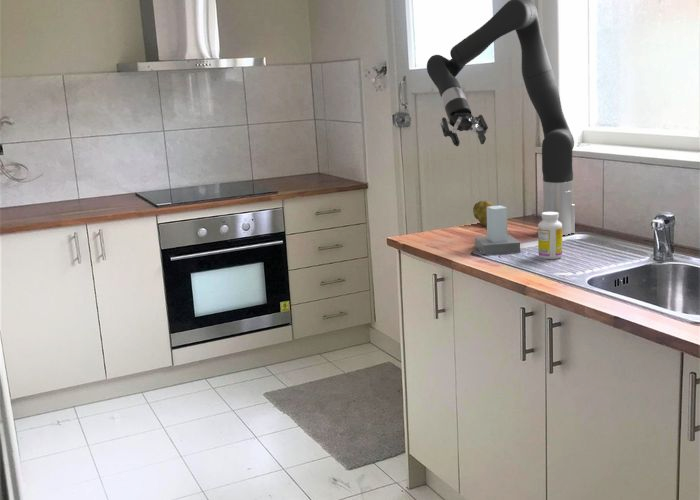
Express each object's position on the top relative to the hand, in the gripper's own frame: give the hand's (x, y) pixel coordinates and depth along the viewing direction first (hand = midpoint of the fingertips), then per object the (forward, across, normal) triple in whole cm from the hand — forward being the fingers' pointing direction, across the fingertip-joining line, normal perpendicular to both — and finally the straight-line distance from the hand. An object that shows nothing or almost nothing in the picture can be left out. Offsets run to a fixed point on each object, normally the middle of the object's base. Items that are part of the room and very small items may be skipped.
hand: (470, 143), depth 243 cm
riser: (+33, +1, +10) cm, 35 cm away
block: (+31, +1, +8) cm, 32 cm away
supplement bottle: (+44, +10, 0) cm, 45 cm away
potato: (+10, +13, +34) cm, 38 cm away
